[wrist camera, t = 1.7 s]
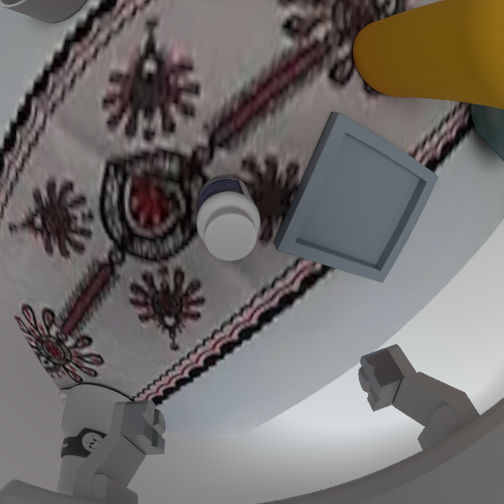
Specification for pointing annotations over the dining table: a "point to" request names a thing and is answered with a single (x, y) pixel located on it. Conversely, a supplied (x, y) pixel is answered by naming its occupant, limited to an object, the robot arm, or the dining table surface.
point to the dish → (355, 202)
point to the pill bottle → (227, 218)
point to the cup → (44, 8)
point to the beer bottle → (437, 52)
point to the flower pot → (490, 126)
